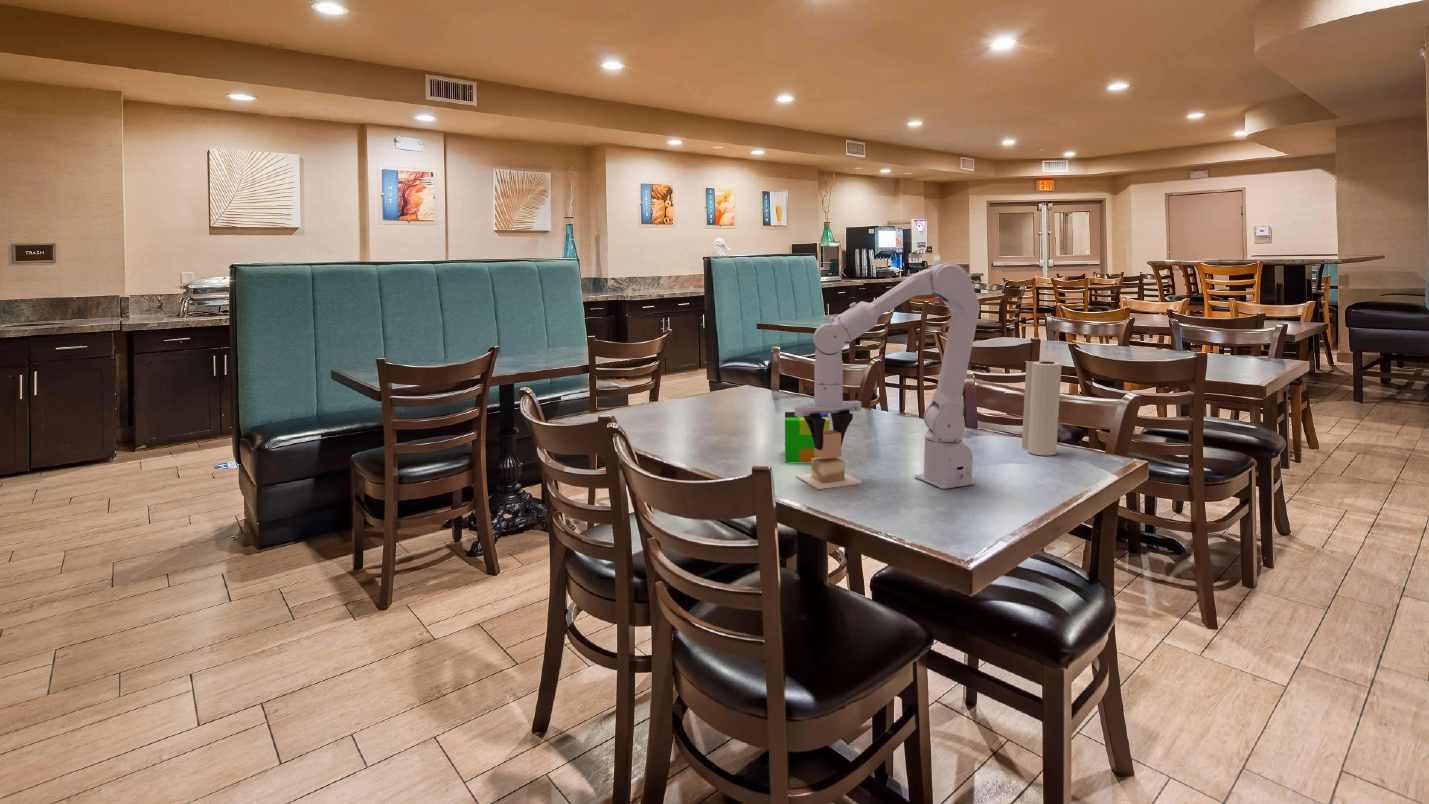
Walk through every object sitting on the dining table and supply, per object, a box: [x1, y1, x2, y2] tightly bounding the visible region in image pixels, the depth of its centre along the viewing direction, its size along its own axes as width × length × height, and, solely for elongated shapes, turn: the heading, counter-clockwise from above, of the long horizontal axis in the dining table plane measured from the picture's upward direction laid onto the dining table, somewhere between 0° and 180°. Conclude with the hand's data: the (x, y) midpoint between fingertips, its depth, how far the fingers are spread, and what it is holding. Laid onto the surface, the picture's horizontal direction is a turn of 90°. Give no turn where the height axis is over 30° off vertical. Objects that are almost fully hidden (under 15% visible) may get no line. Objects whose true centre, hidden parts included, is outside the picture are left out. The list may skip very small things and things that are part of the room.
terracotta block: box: [815, 428, 842, 459], centre depth 151 cm, size 4×4×5 cm
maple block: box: [811, 457, 846, 483], centre depth 152 cm, size 5×5×4 cm
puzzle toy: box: [784, 411, 830, 463], centre depth 171 cm, size 10×10×10 cm
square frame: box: [795, 472, 863, 490], centre depth 153 cm, size 10×10×1 cm
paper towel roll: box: [1021, 360, 1063, 456], centre depth 169 cm, size 7×6×21 cm
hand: (828, 447), depth 151 cm, fingers closed on terracotta block, 4 cm apart
